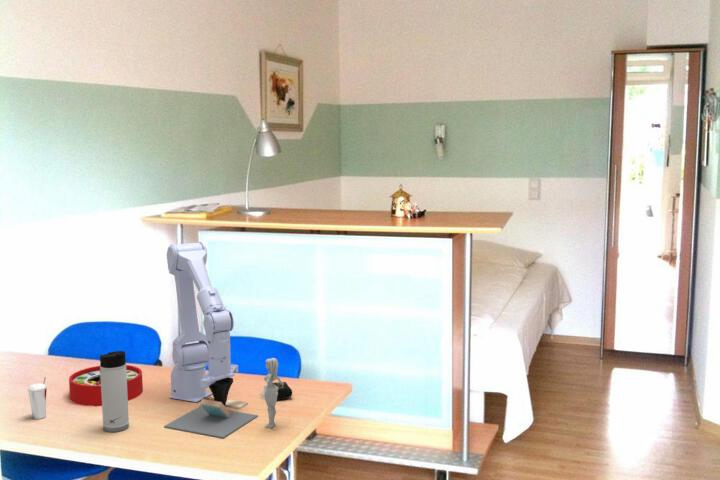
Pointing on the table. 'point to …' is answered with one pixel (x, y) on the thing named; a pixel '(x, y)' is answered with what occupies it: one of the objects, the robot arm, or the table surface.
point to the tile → (215, 408)
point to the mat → (210, 423)
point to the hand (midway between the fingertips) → (220, 405)
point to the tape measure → (283, 390)
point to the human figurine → (271, 389)
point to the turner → (230, 403)
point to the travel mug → (114, 391)
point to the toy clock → (89, 385)
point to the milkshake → (38, 399)
